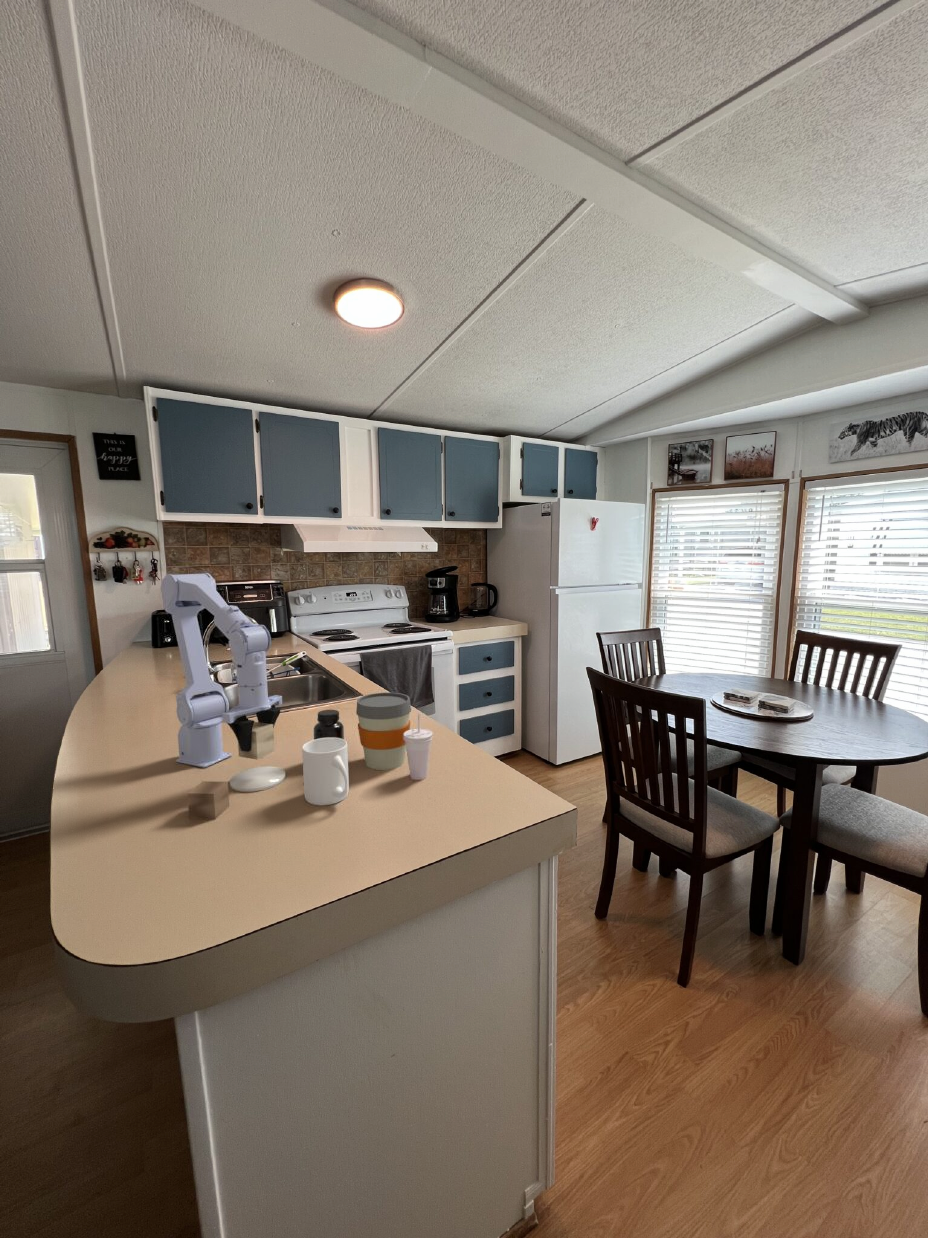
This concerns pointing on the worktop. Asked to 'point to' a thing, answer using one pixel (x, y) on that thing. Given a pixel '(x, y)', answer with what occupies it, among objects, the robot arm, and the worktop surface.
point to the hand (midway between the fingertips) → (256, 746)
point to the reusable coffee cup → (383, 728)
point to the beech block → (260, 741)
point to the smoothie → (418, 751)
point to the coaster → (257, 779)
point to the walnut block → (208, 800)
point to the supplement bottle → (328, 725)
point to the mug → (325, 771)
